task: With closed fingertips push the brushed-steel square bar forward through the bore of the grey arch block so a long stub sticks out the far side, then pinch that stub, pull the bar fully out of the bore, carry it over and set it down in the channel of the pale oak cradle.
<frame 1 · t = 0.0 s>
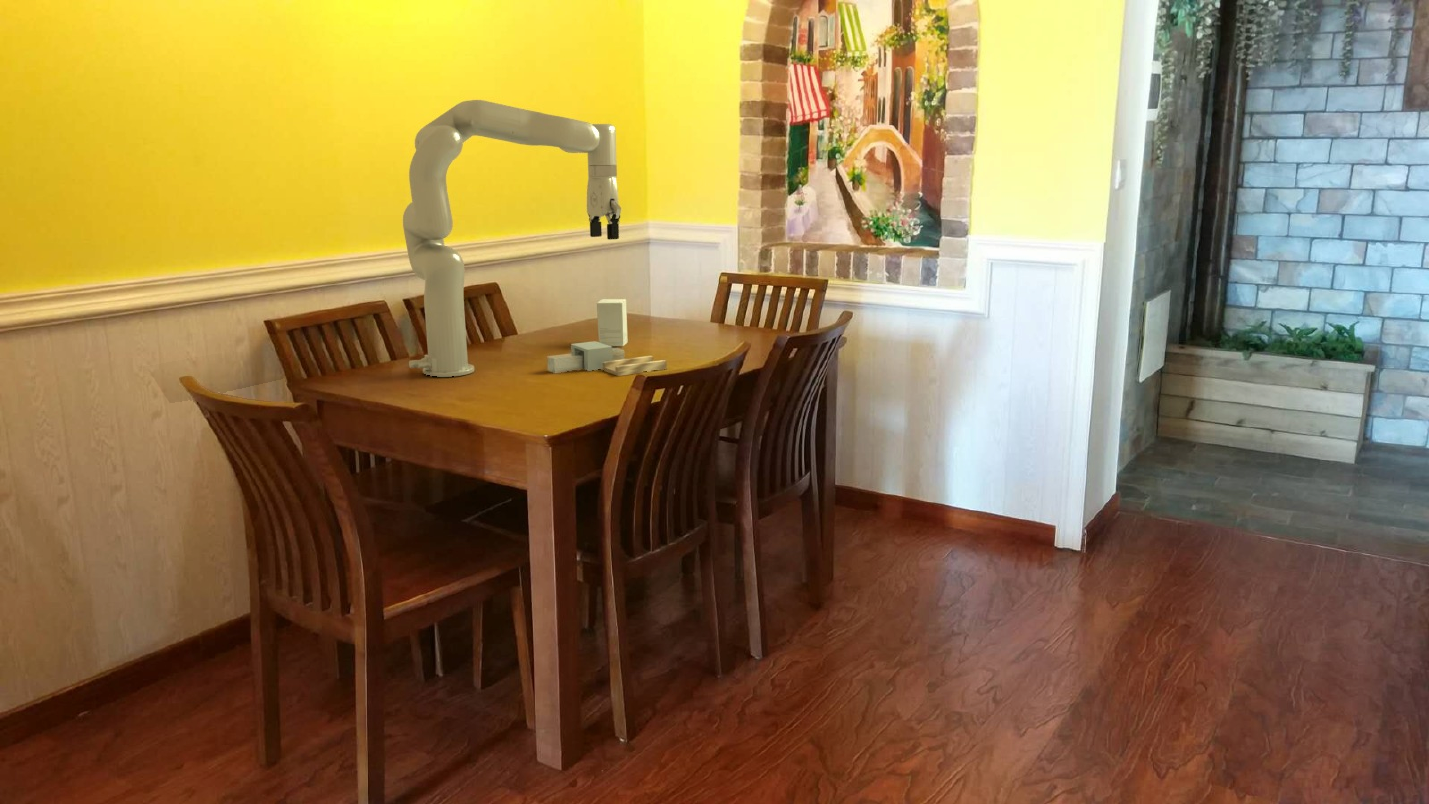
hand: (604, 237, 277), 31 cm above the table, tool pointing down, fingers open, 9 cm apart
cradle: (634, 369, 263), on the table
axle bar: (586, 368, 267), on the table
supplement box: (613, 345, 297), on the table
grey arch block: (592, 366, 267), on the table
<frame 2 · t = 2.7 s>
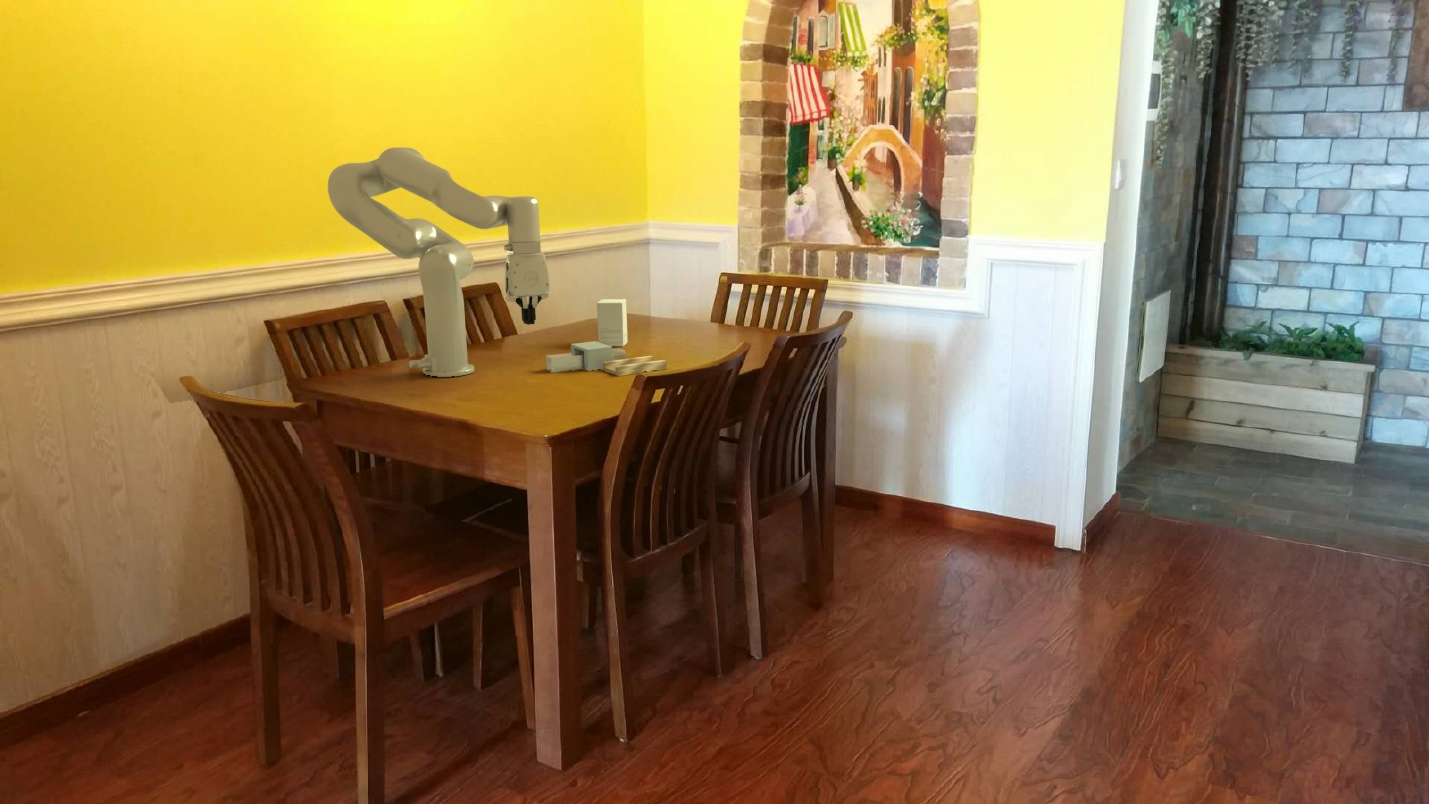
hand: (529, 323, 255), 13 cm above the table, tool pointing down, fingers closed
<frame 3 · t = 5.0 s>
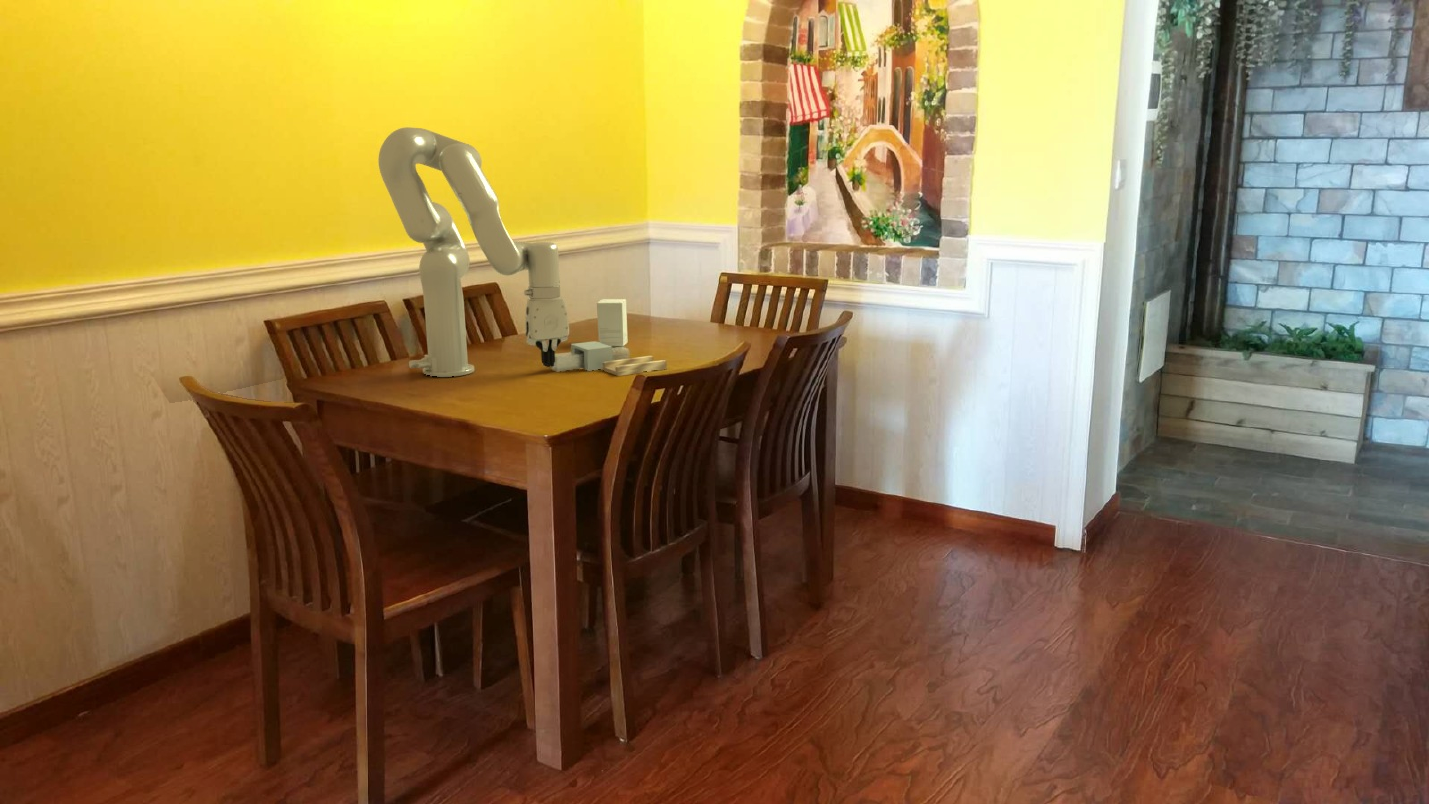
hand: (548, 365, 260), 2 cm above the table, tool pointing down, fingers closed
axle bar: (590, 366, 268), on the table, touching gripper
everything else where it was.
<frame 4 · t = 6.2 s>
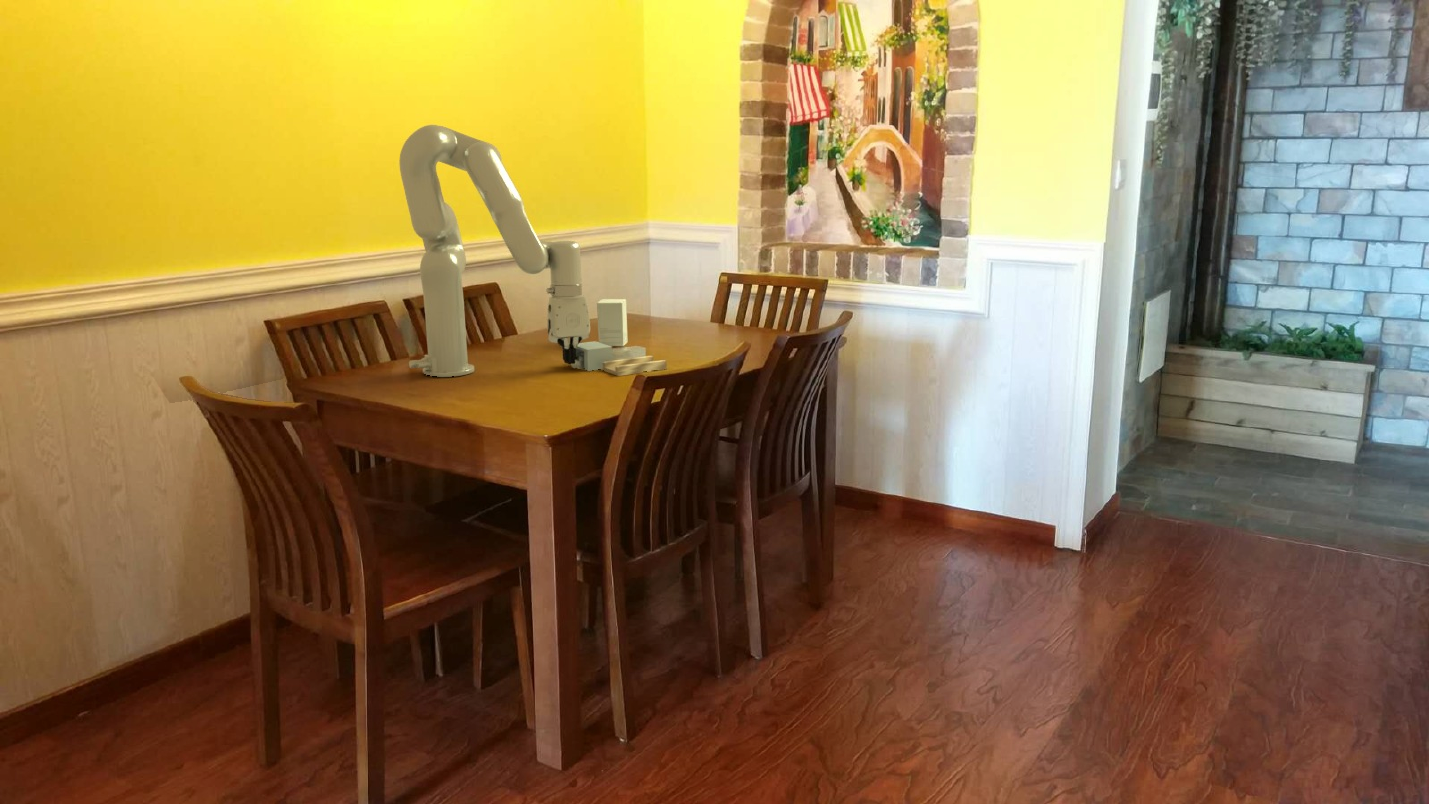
hand: (569, 363, 263), 2 cm above the table, tool pointing down, fingers closed
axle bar: (609, 366, 271), on the table, touching gripper
everything else where it was.
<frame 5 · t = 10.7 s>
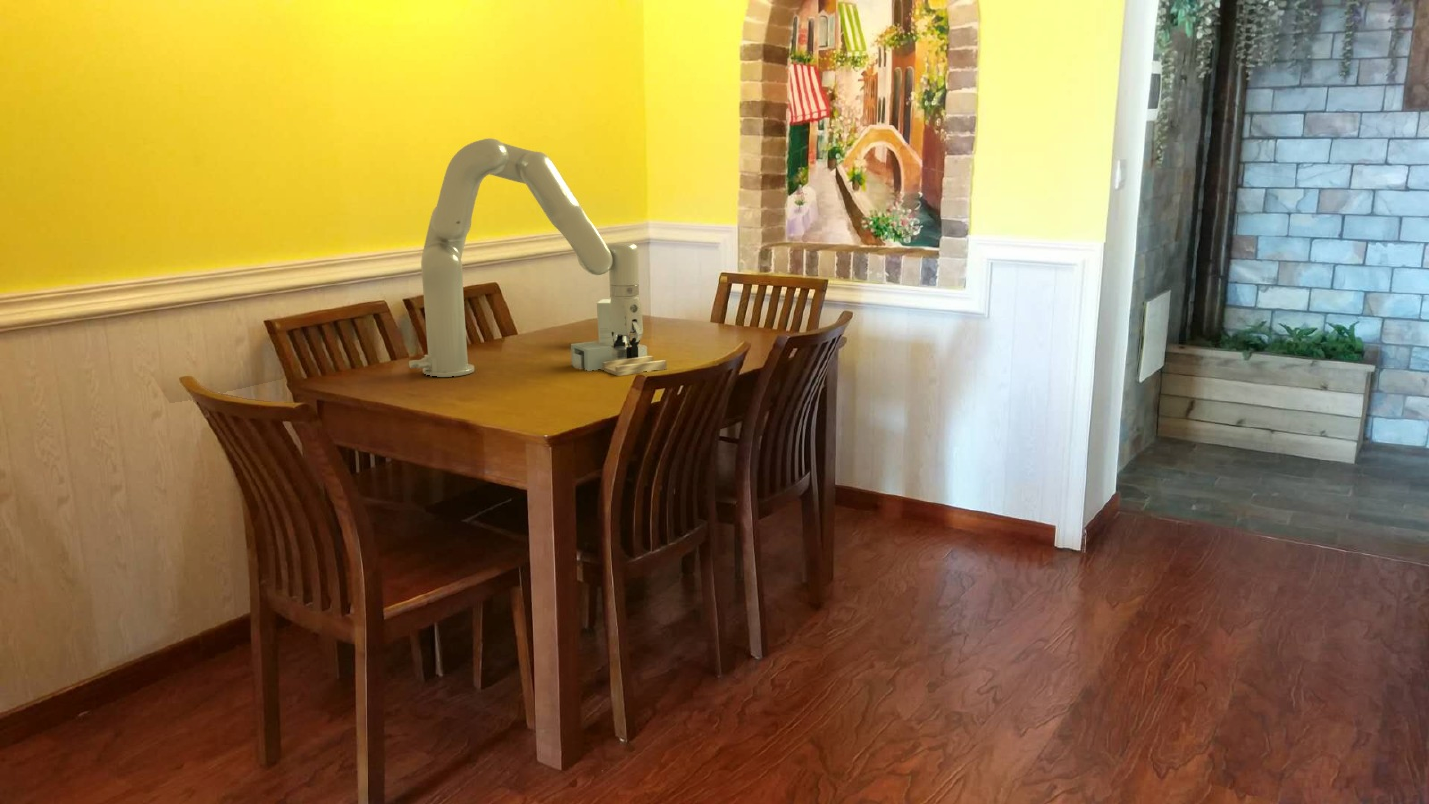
hand: (626, 358, 272), 1 cm above the table, tool pointing down, fingers open, 6 cm apart
nothing on the table moved.
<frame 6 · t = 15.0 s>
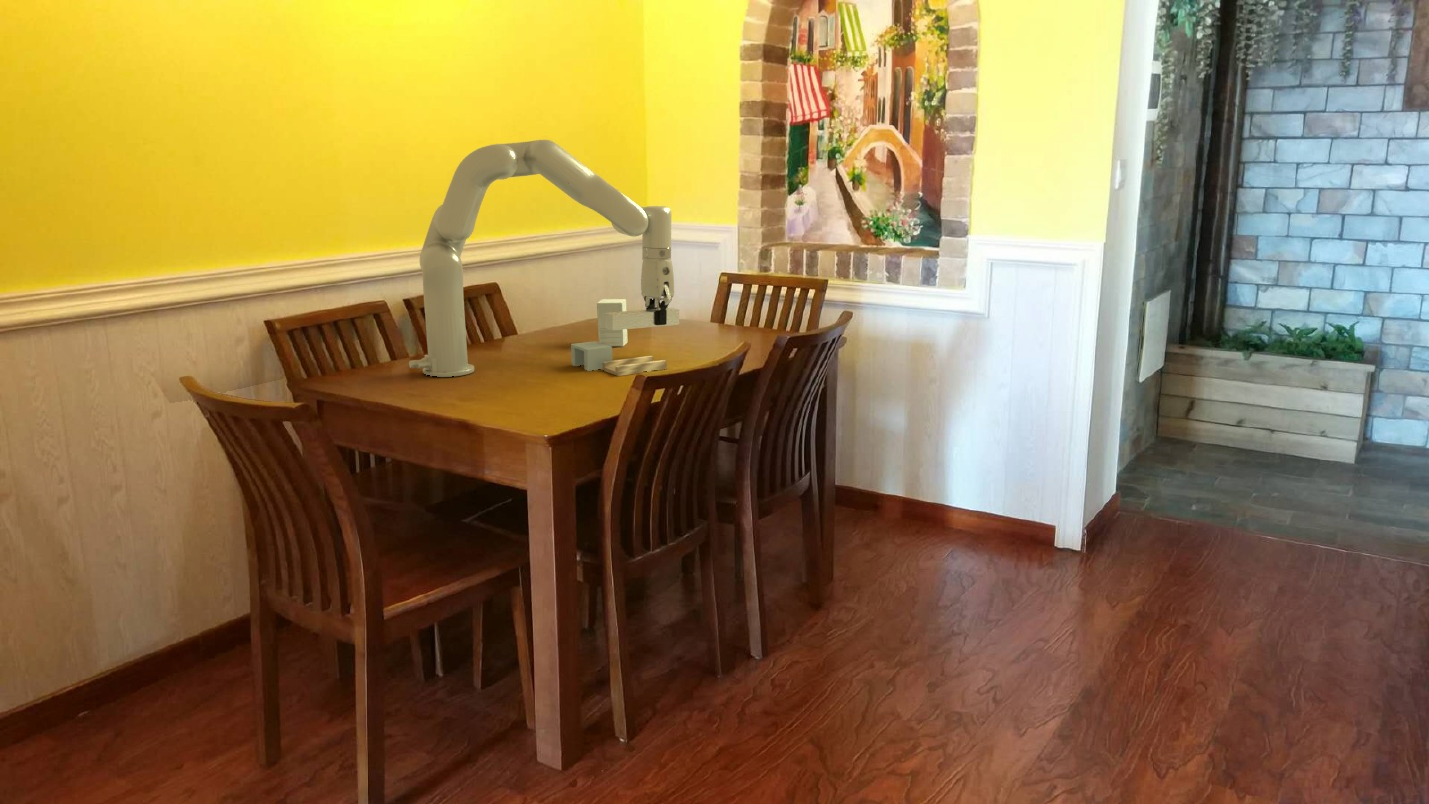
hand: (656, 322, 276), 9 cm above the table, tool pointing down, fingers closed on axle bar, 4 cm apart
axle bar: (642, 326, 273), point 9 cm above the table, touching gripper
everything else where it was.
when the fingers open (3 cm above the table, at t = 18.8 s): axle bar drops 1 cm, resting on cradle.
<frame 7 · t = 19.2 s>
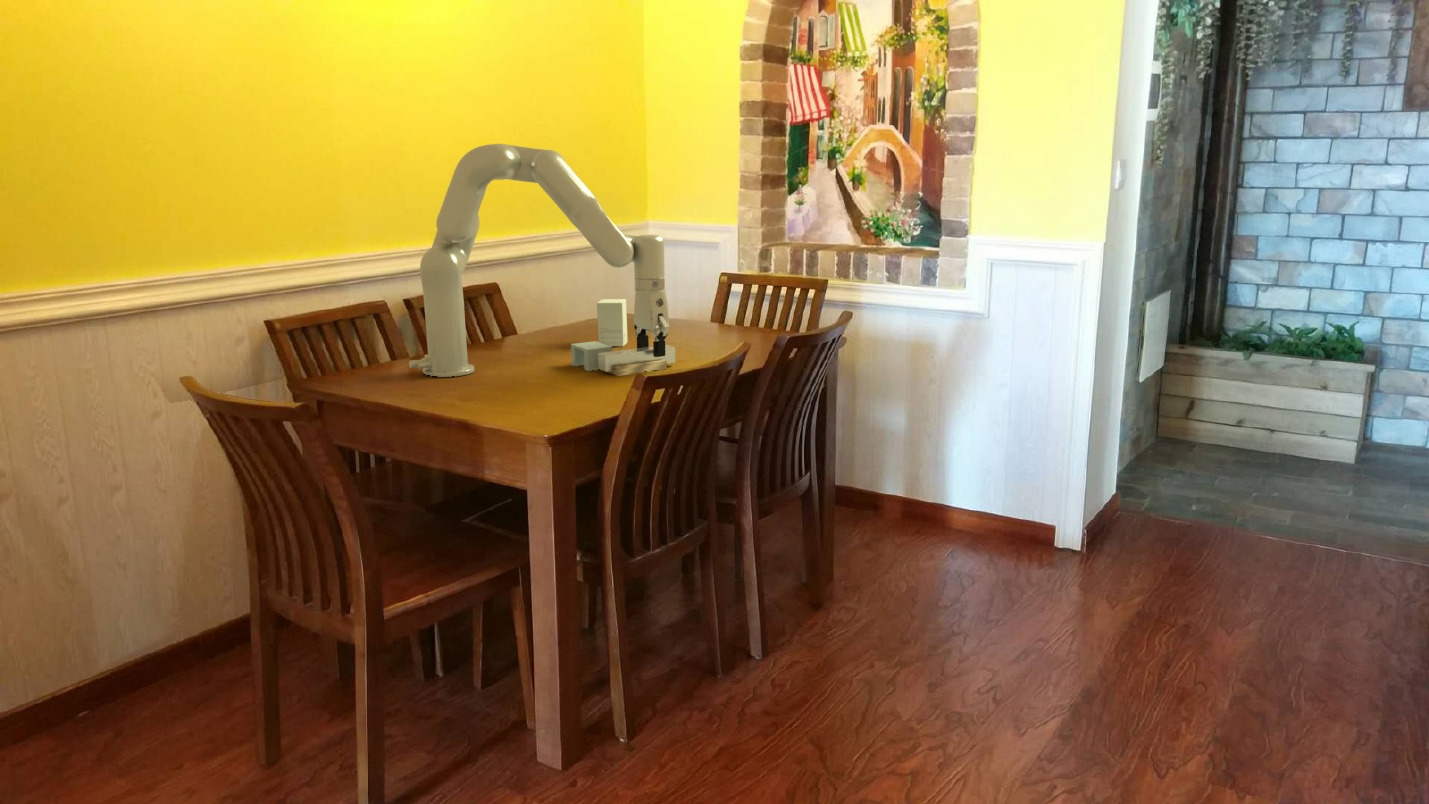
hand: (651, 353, 265), 4 cm above the table, tool pointing down, fingers open, 7 cm apart
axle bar: (637, 365, 263), point 1 cm above the table, touching cradle
everything else where it was.
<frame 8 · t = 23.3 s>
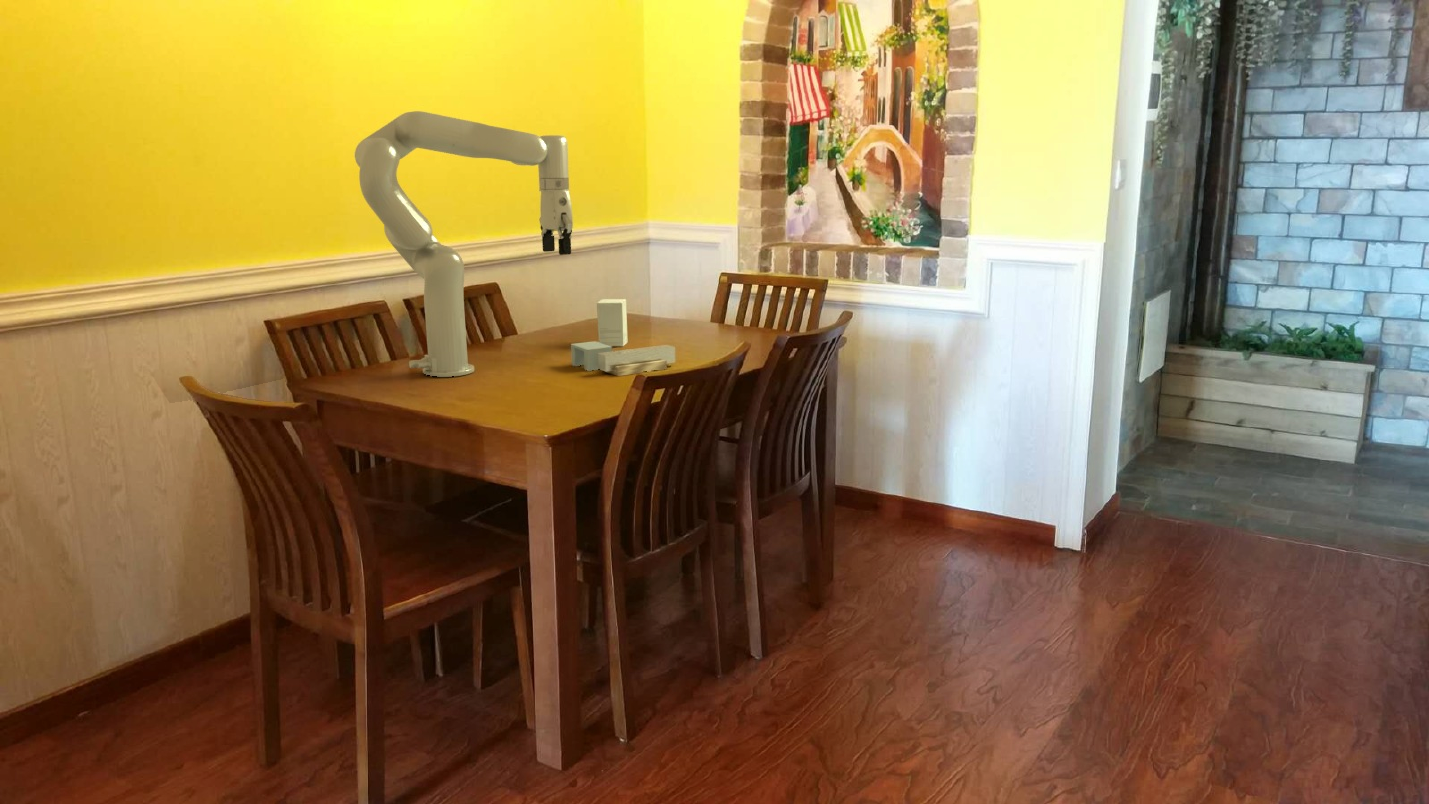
hand: (556, 252, 269), 28 cm above the table, tool pointing down, fingers open, 9 cm apart
nothing on the table moved.
at the end: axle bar inside the target area on the cradle (0.8 cm from its centre), point 1.0 cm above the cradle's base; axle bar tilted 0°; the gripper is holding nothing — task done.
